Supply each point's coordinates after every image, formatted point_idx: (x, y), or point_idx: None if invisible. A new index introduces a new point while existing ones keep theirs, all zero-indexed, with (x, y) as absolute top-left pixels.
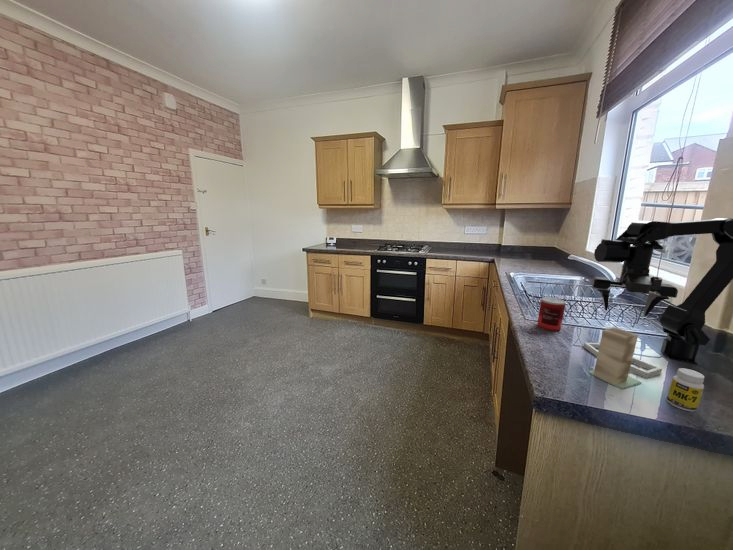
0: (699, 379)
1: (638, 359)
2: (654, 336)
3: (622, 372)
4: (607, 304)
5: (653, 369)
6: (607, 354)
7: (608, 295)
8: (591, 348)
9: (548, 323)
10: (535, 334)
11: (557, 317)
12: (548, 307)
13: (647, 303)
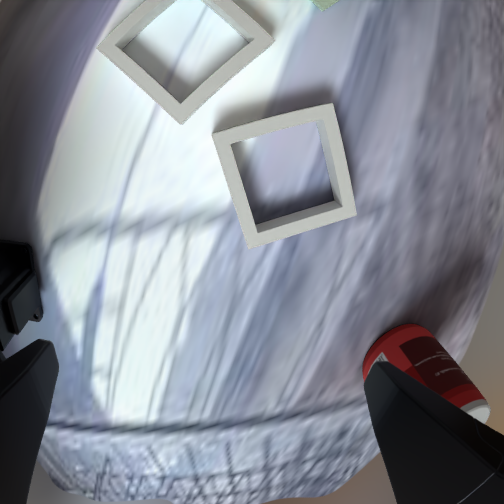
0: None
1: (160, 98)
2: (58, 416)
3: None
4: (423, 398)
5: (141, 14)
6: None
7: (502, 474)
8: (344, 156)
9: (431, 340)
10: (468, 258)
11: (424, 367)
12: (475, 386)
13: (8, 477)
